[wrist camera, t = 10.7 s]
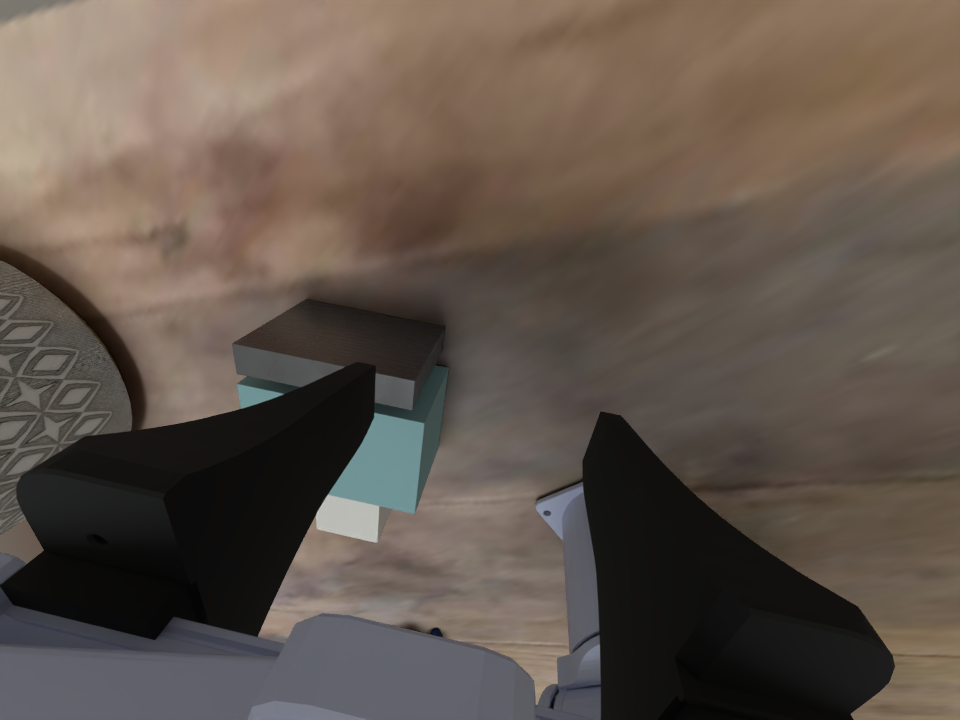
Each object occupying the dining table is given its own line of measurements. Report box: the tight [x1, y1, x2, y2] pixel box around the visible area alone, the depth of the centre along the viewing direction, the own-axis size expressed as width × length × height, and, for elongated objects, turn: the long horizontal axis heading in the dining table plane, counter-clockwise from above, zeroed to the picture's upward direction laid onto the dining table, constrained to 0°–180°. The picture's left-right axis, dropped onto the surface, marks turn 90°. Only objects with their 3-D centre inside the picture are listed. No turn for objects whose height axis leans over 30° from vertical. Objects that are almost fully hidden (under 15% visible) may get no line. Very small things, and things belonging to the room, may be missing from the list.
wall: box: [232, 299, 445, 410], centre depth 20 cm, size 2×8×6 cm, turn 81°
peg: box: [316, 495, 392, 543], centre depth 24 cm, size 10×4×4 cm, turn 171°
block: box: [237, 365, 449, 514], centre depth 22 cm, size 6×9×5 cm, turn 81°
